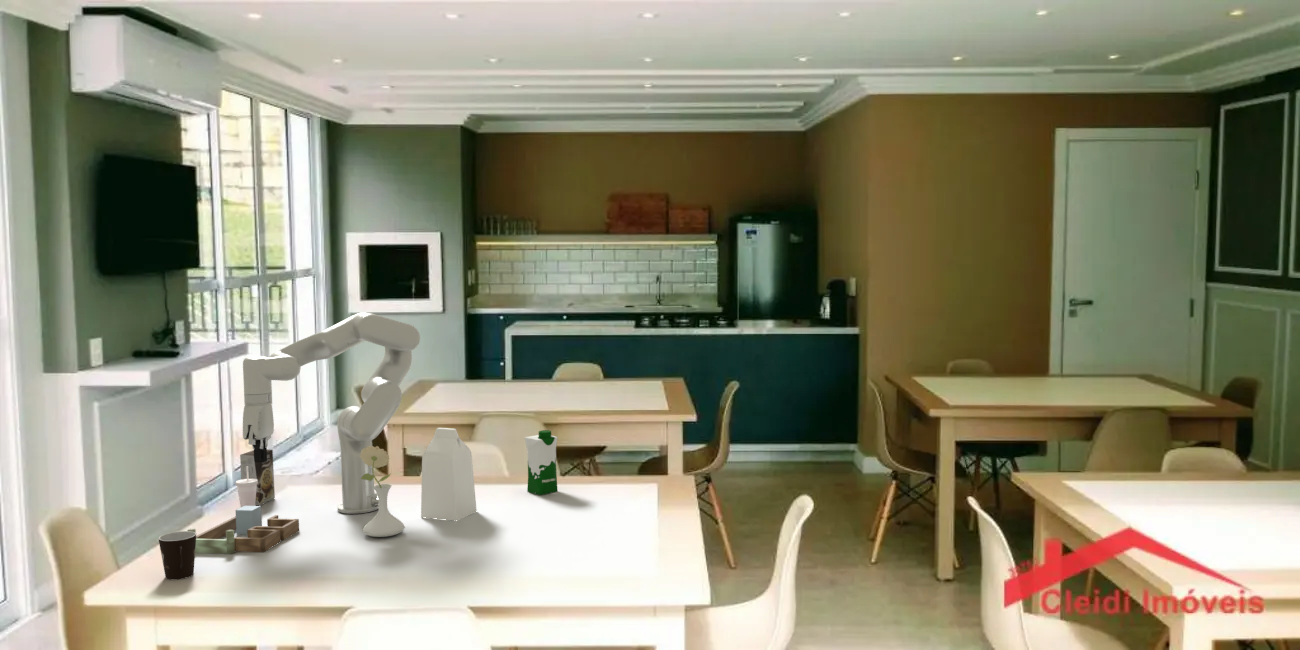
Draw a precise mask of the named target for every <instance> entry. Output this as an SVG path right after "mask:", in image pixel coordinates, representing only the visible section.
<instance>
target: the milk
mask: <svg viewBox="0 0 1300 650" xmlns="http://www.w3.org/2000/svg"><path fill="white" fill-rule="evenodd" d="M473 466H474V465H473V455H472V450H471V449H470V448H469V447H468V445H467V444H466V443H465V442H464V441H463V440H462V439H461V438H460V435H459V433H458V431H457V428H448V427H437V428H436V429H435V432H434V435H433V437H432V439H431V440H430V442H429V443H428V444H427V447H426V448H425V449H424V452H423V453H422V457H421V495H420V497H421V502H420V518H421V517H426V518H437V519H446V520H445V521H447V520H455V521H454V522H457V521H456V520H458V521H460V520H462V519H464V518H466V517H468V516H467V515H469V516H470V514H471V515H472V513H473V514H475V513H477V512H478V511H477V510H478V509H477V500H476V498H477V497H476V489H475V478H474V477H475V476H474V467H473ZM476 511H477V512H476ZM474 512H475V513H474ZM465 516H466V517H465ZM463 517H464V518H463ZM426 518H425V519H426ZM461 518H462V519H461ZM437 519H436V520H437ZM459 519H460V520H459Z"/></svg>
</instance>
